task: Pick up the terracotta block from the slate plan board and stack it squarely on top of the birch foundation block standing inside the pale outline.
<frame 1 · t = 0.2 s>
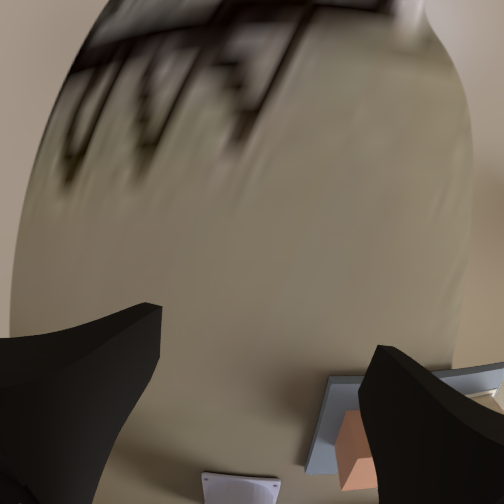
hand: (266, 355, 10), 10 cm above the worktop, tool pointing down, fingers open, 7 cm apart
terracotta block: (365, 428, 21), point 1 cm above the worktop, touching plan board
plan board: (410, 422, 22), on the worktop
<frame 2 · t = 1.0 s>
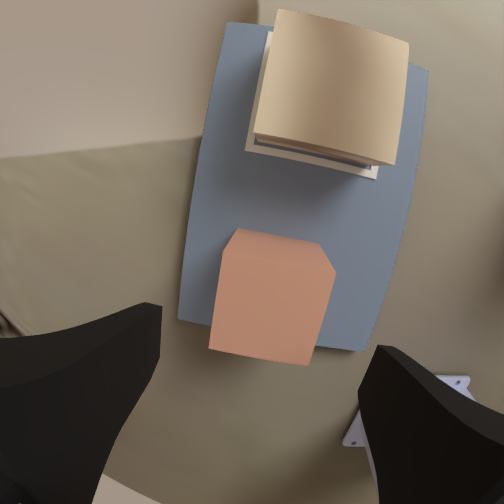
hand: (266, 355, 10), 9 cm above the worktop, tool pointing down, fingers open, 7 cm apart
terracotta block: (270, 274, 17), point 1 cm above the worktop, touching plan board
foundation block: (323, 100, 15), point 1 cm above the worktop, touching plan board
plan board: (305, 188, 17), on the worktop
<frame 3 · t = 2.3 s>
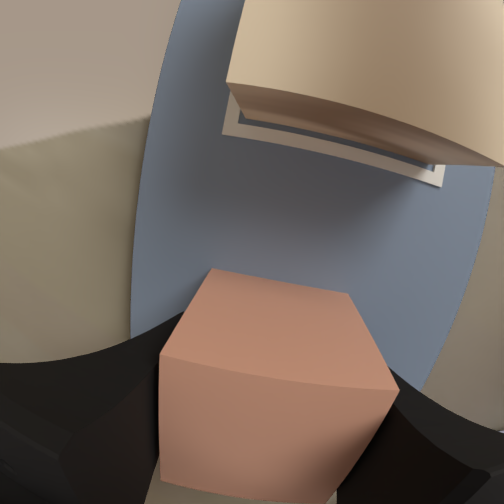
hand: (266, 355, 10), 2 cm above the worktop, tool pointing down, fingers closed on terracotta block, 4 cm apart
terracotta block: (267, 341, 10), point 1 cm above the worktop, touching gripper, plan board
foundation block: (357, 52, 8), point 1 cm above the worktop, touching plan board
plan board: (326, 199, 10), on the worktop
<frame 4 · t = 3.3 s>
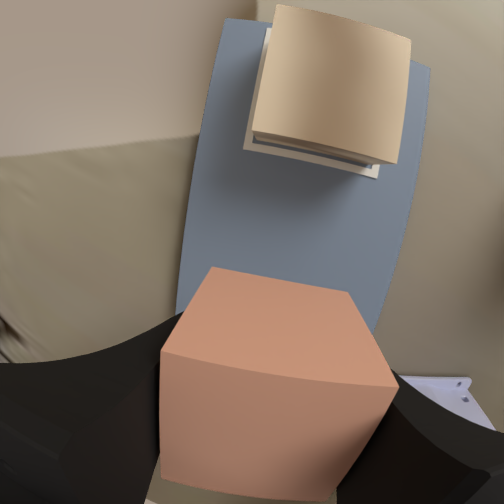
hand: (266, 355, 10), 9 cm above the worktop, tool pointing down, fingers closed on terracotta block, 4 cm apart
terracotta block: (267, 339, 10), point 8 cm above the worktop, touching gripper
foundation block: (323, 97, 14), point 1 cm above the worktop, touching plan board
plan board: (304, 187, 17), on the worktop
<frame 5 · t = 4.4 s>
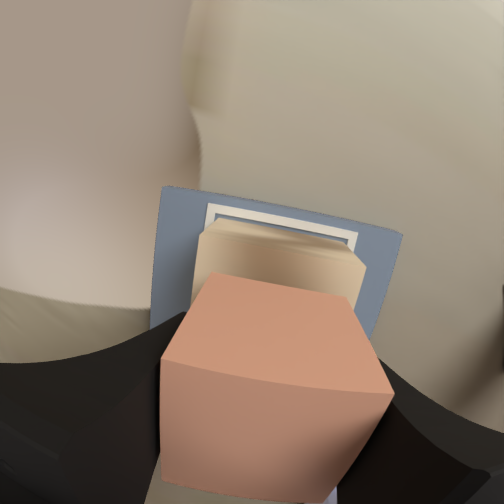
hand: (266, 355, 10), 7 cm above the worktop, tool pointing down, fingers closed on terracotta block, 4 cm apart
terracotta block: (266, 343, 11), point 6 cm above the worktop, touching gripper
foundation block: (269, 288, 15), point 1 cm above the worktop, touching plan board
plan board: (252, 359, 18), on the worktop
when the fingers open (7 cm above the worktop, at t = 4.8 s): terracotta block stays where it is, resting on foundation block.
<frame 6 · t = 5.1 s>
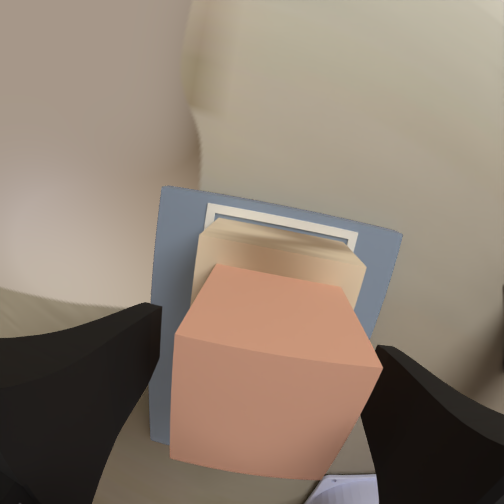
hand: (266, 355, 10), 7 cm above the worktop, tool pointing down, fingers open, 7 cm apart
terracotta block: (267, 331, 11), point 5 cm above the worktop, touching foundation block
foundation block: (269, 288, 15), point 1 cm above the worktop, touching plan board, terracotta block
plan board: (252, 359, 18), on the worktop
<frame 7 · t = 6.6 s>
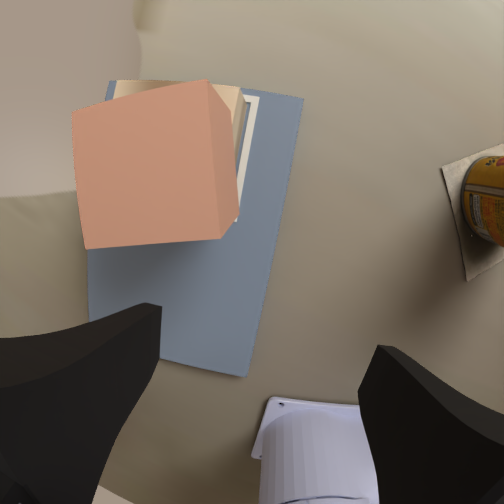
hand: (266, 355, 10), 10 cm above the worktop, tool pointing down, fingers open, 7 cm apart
condiment: (489, 209, 17), on the worktop
terracotta block: (184, 167, 13), point 5 cm above the worktop, touching foundation block
foundation block: (185, 149, 17), point 1 cm above the worktop, touching plan board, terracotta block
plan board: (177, 230, 19), on the worktop
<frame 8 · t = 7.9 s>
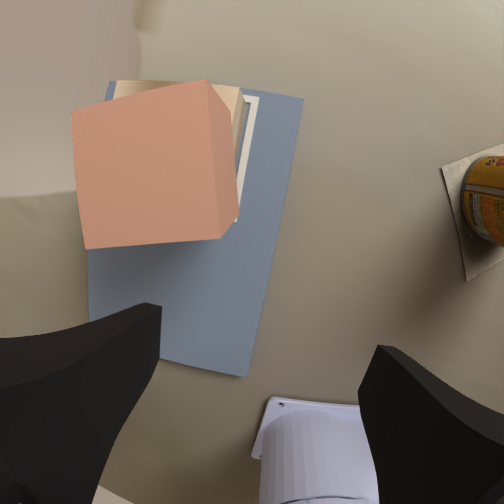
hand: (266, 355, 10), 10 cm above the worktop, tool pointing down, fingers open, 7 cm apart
condiment: (489, 209, 17), on the worktop
terracotta block: (184, 167, 13), point 5 cm above the worktop, touching foundation block
foundation block: (185, 149, 17), point 1 cm above the worktop, touching plan board, terracotta block
plan board: (177, 231, 19), on the worktop
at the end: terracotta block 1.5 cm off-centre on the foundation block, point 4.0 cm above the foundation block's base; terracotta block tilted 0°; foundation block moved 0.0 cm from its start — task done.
